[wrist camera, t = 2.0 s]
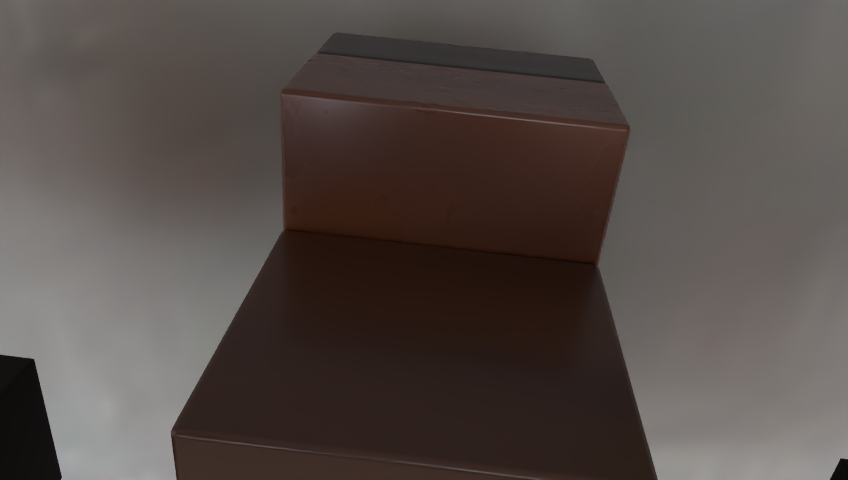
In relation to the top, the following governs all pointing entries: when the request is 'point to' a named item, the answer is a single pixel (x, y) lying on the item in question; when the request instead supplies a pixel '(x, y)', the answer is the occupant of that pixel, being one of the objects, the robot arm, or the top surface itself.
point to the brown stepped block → (429, 280)
